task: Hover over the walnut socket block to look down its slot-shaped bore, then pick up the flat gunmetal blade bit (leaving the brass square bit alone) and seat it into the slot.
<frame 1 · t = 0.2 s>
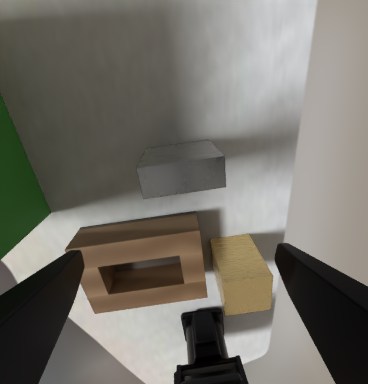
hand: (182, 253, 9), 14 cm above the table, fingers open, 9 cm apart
socket block: (146, 251, 26), on the table
square bit: (230, 251, 27), on the table
blade bit: (179, 155, 22), on the table
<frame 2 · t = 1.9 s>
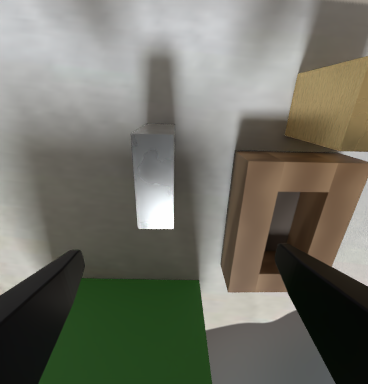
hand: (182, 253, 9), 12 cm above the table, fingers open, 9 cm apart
socket block: (272, 215, 22), on the table
square bit: (318, 107, 18), on the table
blade bit: (161, 159, 19), on the table
hardback book: (130, 298, 27), on the table
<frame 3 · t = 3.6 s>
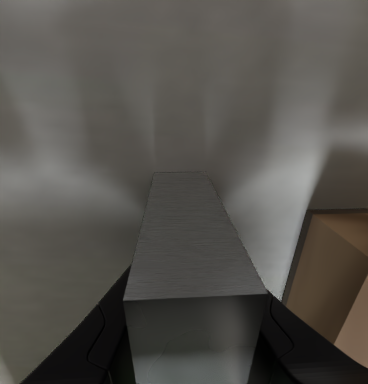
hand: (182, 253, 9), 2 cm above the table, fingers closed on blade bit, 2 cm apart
socket block: (351, 296, 14), on the table
blade bit: (180, 228, 11), on the table, touching gripper
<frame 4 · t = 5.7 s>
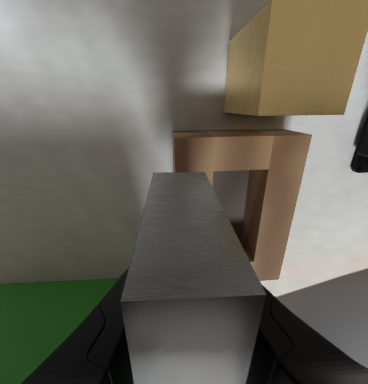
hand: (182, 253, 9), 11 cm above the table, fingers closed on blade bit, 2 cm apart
socket block: (223, 201, 21), on the table
square bit: (255, 79, 17), on the table
blade bit: (179, 228, 11), point 9 cm above the table, touching gripper
hardback book: (85, 301, 25), on the table
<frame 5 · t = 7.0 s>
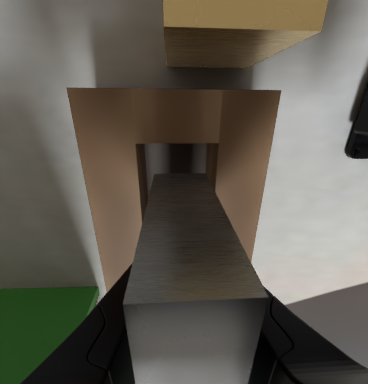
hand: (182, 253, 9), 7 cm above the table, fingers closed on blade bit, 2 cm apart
socket block: (176, 192, 16), on the table
square bit: (209, 17, 12), on the table
blade bit: (180, 229, 11), point 5 cm above the table, touching gripper
hardback book: (12, 314, 20), on the table
when the fingers open (5 cm above the table, at t = 7.7 s): blade bit drops 2 cm, resting on socket block.
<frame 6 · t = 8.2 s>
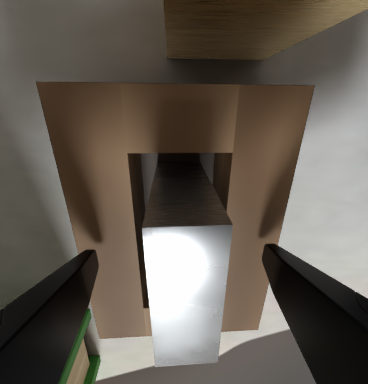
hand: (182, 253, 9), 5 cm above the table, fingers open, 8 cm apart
socket block: (178, 206, 14), on the table
blade bit: (179, 209, 13), resting on socket block
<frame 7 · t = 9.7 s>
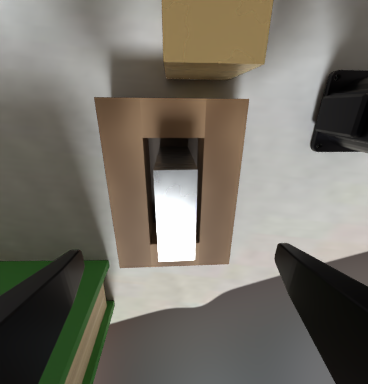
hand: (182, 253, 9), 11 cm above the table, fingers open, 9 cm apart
socket block: (173, 179, 20), on the table
square bit: (198, 42, 15), on the table
blade bit: (174, 181, 19), resting on socket block
hardback book: (35, 284, 24), on the table
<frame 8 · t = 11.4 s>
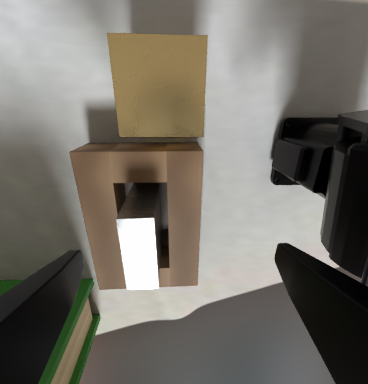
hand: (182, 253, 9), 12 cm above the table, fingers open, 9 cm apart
socket block: (148, 208, 22), on the table
square bit: (164, 95, 18), on the table
blade bit: (148, 211, 21), resting on socket block
hardback book: (27, 300, 26), on the table
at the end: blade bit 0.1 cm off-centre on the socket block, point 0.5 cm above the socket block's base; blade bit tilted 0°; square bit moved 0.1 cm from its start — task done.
